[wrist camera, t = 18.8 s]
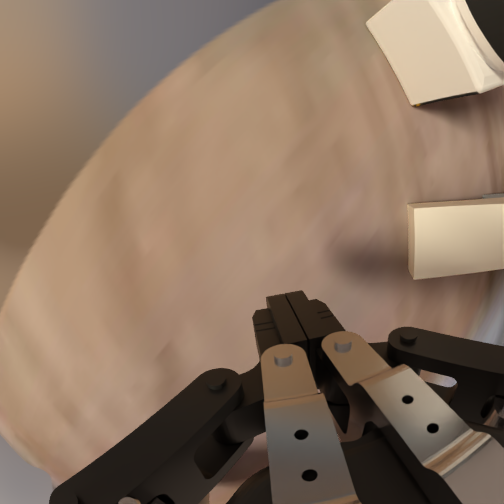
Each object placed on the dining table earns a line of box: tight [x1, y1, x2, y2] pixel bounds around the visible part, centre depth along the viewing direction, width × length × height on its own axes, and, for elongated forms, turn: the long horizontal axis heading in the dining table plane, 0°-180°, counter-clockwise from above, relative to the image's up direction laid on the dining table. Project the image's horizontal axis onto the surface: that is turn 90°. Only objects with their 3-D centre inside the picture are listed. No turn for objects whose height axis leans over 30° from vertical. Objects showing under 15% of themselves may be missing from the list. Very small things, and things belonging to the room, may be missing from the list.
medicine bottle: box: [366, 0, 504, 106], centre depth 9 cm, size 7×7×12 cm
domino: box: [407, 199, 504, 280], centre depth 16 cm, size 5×2×9 cm
